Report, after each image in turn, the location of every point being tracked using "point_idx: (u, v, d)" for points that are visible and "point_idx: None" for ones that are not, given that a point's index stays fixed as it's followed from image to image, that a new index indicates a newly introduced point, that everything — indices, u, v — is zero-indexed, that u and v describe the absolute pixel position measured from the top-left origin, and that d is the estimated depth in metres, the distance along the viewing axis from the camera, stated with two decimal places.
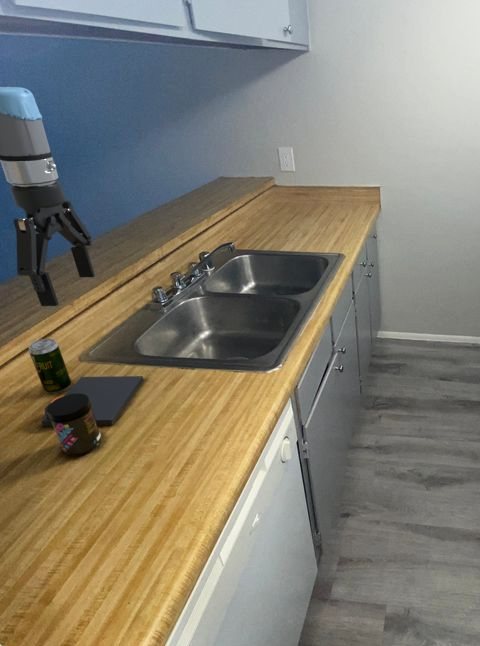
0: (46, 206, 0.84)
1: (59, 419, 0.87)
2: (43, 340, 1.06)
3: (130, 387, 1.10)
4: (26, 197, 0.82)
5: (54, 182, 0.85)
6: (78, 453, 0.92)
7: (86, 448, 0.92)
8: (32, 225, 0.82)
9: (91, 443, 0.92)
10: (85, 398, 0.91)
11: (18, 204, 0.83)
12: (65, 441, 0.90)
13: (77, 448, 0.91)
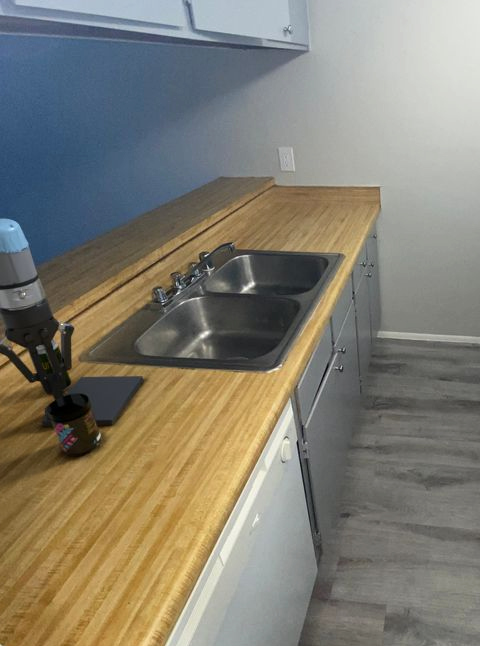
0: (14, 328, 0.87)
1: (59, 419, 0.87)
2: None
3: (130, 387, 1.10)
4: (1, 317, 0.87)
5: (30, 307, 0.87)
6: (78, 453, 0.92)
7: (86, 448, 0.92)
8: (5, 350, 0.88)
9: (91, 443, 0.92)
10: (85, 398, 0.91)
11: None
12: (65, 441, 0.90)
13: (77, 448, 0.91)
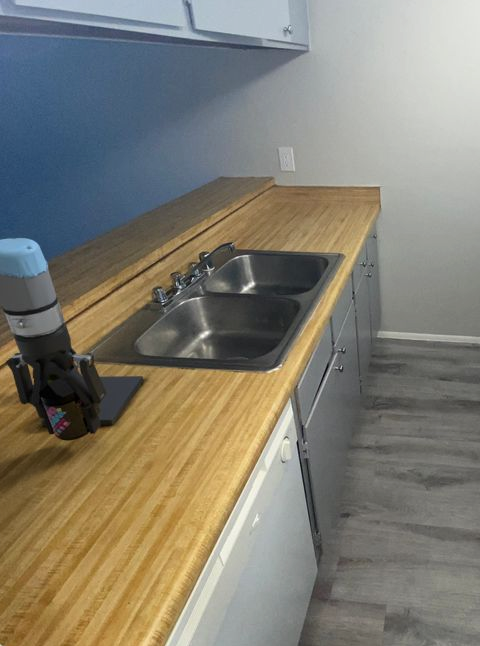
0: (20, 352, 0.81)
1: (52, 402, 0.85)
2: None
3: (130, 387, 1.10)
4: None
5: (32, 336, 0.79)
6: (71, 438, 0.90)
7: (79, 433, 0.90)
8: (12, 365, 0.84)
9: (83, 428, 0.91)
10: None
11: None
12: (57, 425, 0.88)
13: (70, 432, 0.89)
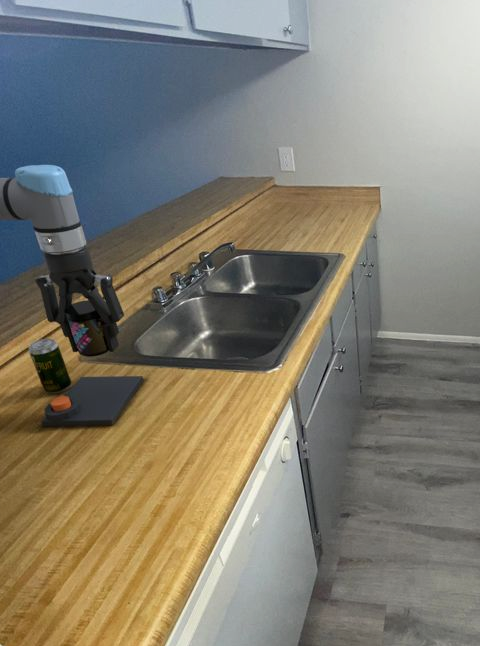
0: None
1: (76, 318, 0.95)
2: (43, 340, 1.06)
3: (130, 387, 1.10)
4: None
5: (59, 254, 0.89)
6: (92, 354, 1.00)
7: (99, 349, 1.00)
8: (41, 284, 0.94)
9: (104, 346, 1.01)
10: None
11: None
12: (80, 341, 0.98)
13: (91, 348, 0.99)
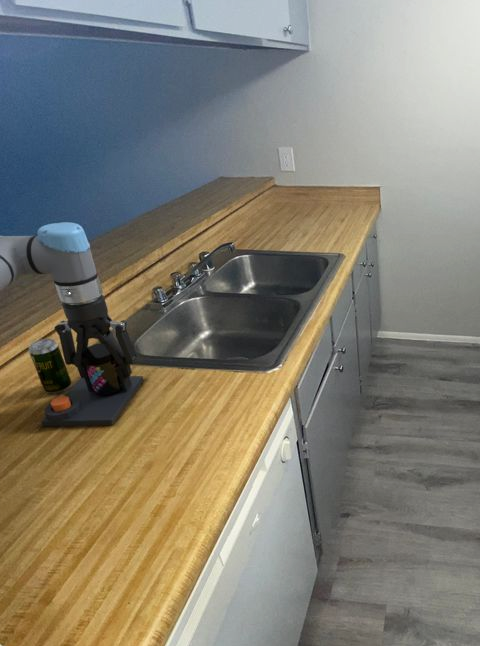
0: (67, 318, 0.97)
1: (92, 362, 1.01)
2: (43, 340, 1.06)
3: (130, 387, 1.10)
4: None
5: (77, 304, 0.95)
6: (107, 394, 1.06)
7: (114, 390, 1.06)
8: (60, 330, 1.00)
9: (118, 386, 1.07)
10: None
11: None
12: (96, 382, 1.04)
13: (106, 389, 1.05)
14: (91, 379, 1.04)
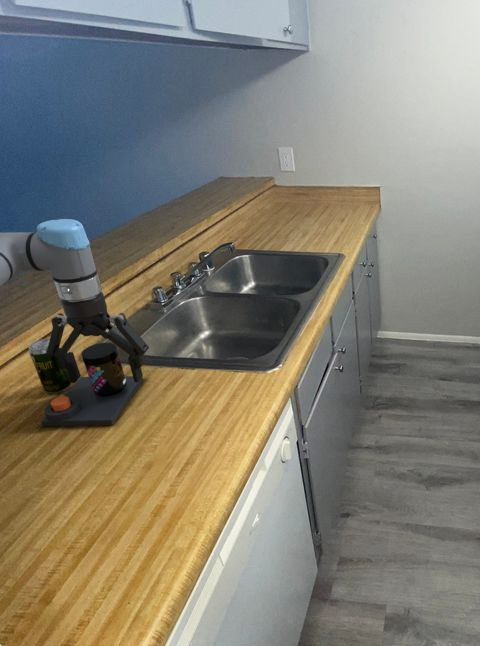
0: (66, 315, 0.97)
1: (92, 362, 1.01)
2: (43, 340, 1.06)
3: (130, 387, 1.10)
4: None
5: (76, 301, 0.95)
6: (107, 394, 1.06)
7: (114, 390, 1.06)
8: (56, 323, 0.99)
9: (118, 386, 1.07)
10: (113, 346, 1.06)
11: None
12: (96, 382, 1.04)
13: (106, 389, 1.05)
14: (91, 379, 1.04)
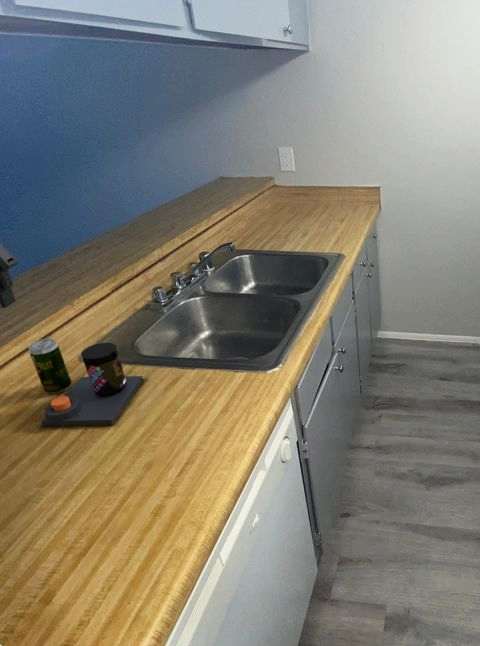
0: None
1: (92, 362, 1.01)
2: (43, 340, 1.06)
3: (130, 387, 1.10)
4: None
5: None
6: (107, 394, 1.06)
7: (114, 390, 1.06)
8: None
9: (118, 386, 1.07)
10: (113, 346, 1.06)
11: None
12: (96, 382, 1.04)
13: (106, 389, 1.05)
14: (91, 379, 1.04)
